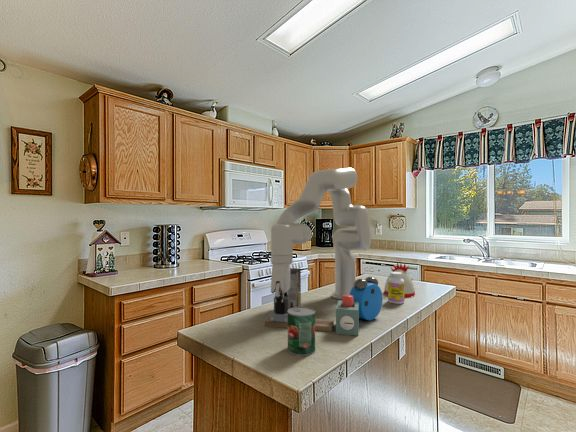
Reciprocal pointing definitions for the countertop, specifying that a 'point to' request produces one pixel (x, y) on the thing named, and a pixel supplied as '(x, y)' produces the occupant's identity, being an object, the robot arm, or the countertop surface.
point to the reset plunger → (347, 301)
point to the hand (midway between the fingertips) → (281, 311)
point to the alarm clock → (367, 297)
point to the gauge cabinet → (347, 319)
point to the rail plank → (319, 324)
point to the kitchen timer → (408, 282)
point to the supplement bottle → (396, 288)
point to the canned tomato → (301, 331)
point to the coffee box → (295, 288)
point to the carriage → (281, 316)
